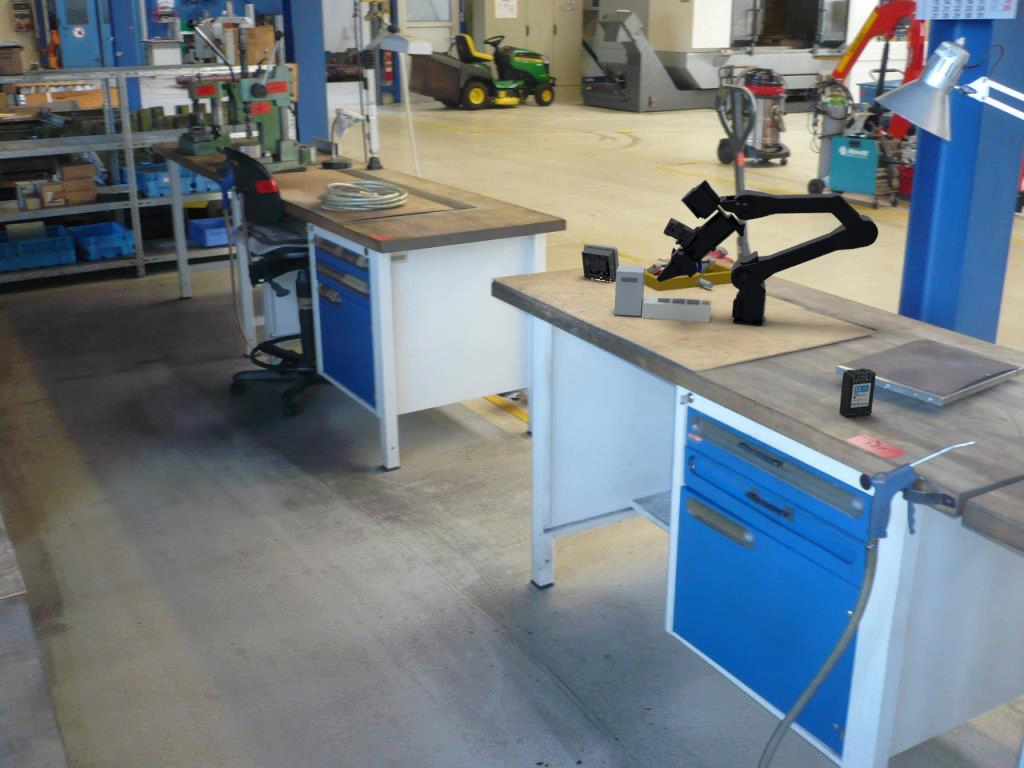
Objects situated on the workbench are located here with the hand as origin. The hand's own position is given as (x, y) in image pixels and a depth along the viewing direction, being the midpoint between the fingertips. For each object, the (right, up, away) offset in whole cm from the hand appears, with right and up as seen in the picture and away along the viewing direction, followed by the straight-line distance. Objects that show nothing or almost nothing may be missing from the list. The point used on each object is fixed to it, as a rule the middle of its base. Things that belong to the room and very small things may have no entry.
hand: (657, 280), depth 240 cm
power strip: (+5, -6, +7) cm, 11 cm away
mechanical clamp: (+11, +2, +32) cm, 34 cm away
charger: (-5, -7, +4) cm, 9 cm away
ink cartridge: (+26, -29, -56) cm, 68 cm away
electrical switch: (-10, +3, +34) cm, 36 cm away
